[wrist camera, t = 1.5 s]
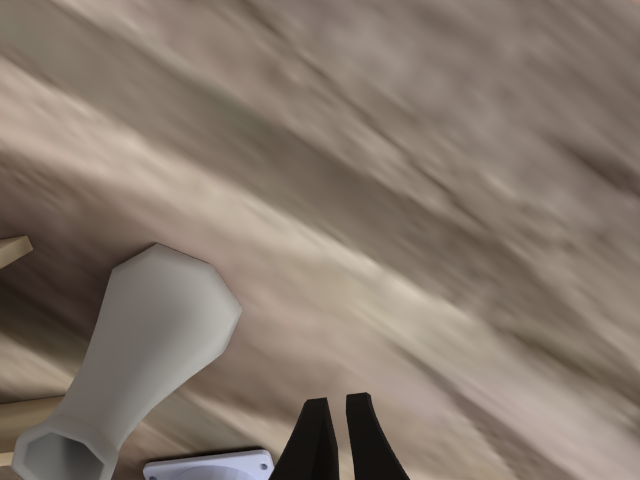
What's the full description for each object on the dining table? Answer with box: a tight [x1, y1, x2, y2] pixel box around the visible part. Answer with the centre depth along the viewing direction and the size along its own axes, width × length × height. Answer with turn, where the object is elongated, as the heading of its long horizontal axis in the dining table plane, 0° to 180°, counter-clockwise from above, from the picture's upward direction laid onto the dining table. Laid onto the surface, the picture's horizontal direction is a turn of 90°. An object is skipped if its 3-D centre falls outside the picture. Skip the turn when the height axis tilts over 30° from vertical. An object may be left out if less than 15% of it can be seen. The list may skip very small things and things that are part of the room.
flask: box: [10, 243, 243, 480], centre depth 18 cm, size 7×7×10 cm
